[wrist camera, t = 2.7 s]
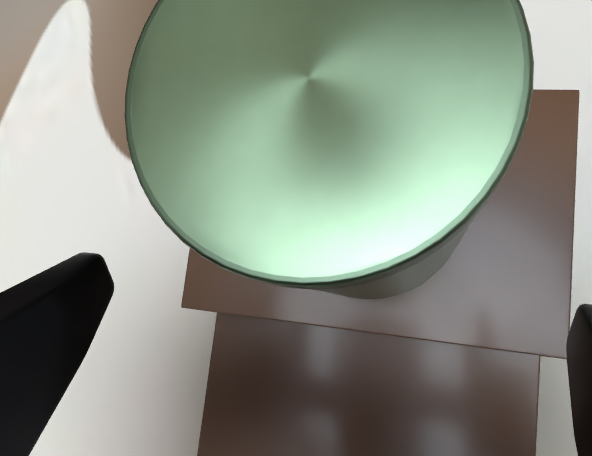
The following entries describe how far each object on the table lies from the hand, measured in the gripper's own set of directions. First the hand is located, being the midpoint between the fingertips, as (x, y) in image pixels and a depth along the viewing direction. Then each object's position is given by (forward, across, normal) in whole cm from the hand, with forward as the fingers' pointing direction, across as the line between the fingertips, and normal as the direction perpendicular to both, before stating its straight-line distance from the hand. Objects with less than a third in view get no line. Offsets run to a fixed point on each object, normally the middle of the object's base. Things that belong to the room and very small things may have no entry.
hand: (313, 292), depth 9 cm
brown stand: (+7, 0, +9) cm, 11 cm away
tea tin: (+7, 0, +2) cm, 7 cm away
